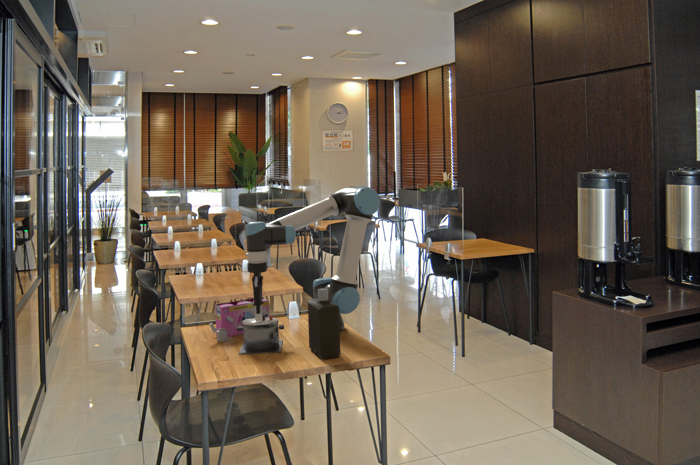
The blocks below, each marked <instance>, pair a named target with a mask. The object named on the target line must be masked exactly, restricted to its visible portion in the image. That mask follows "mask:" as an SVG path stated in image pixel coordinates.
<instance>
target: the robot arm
mask: <svg viewBox="0 0 700 465" xmlns="http://www.w3.org/2000/svg"><path fill="white" fill-rule="evenodd" d="M380 204H381V199H380V196H379V194H378V192H377V191H376V190H375V189H374V188H372V187H371V186H370V187H369V186H364V185H363V186H360V185H359V186H353V185H351V186H350V185H349V186H347V187H343V188H341V189H339V190H337V191H335V192H333V193H331V194H328V195H327V196H326V197H325V199H323V200H319V201H318V202H315V203H312V204H310V205H308V206H306V207H303V208H302V209H299V210H296V211H294V212H291V213H289V214H287V215H285V216H282V217H279V218H277V219H275V220H273V221H270V222H264V221H250V222H248V223H247V224H246V227H245V228H246V229H245V230H246V231H245V236H246V253H245V256H246V259H247V264H246V266H247V271H246V272H248V273H250V274H253V275H252V277H251V281H252V291H253V298H254V304H253V306H255V322H262V321H263V318H262V304H264V302H262V300H263V299H262V297H263V285H264V284H263V282H264V281H263V280H264V276H263V275H262V273H266V272H267V271H268V262H267V259H268V255H267V254H268V253H267V251H268V250H267V246H268V247H270V246H280V245H281V246H282V245H283V246H284V245H286V246H287V245H291V244H295V241H296V238H297V232H296V231H298V230H301V229H303V228H305V227H308V226H309V225H313V224H315V223H317V222H320V221H321V220H324V219H326V218H329V217H330V216H335V217H336V216H339V215H342V214H344V217H345V218H346V224H345V225H346V226H345V230H344V234H343V238H342V239H343V240H342V243H341V248H340V252H339V258H338V261H337V262H338V264H337V266H336V273H335V275H334V276H332V277H321V278H317V279H314V280H313V285H312V290H313V291H312V294H313V299H318V289H322V288H324V289H328V300H329V301H331V302H332V303H334V304H336V305H337V306H338V307H339V315H340V332H342V331H344V329H345V322H344V321H345V320H344V319H343V317H342V315H348V314H351V313H353V312H354V311H356V309H357V308H358V306H359V304H360V300H361V296H360V293H359V290H358V287H359V283H358V281H357V279H356V278H357V273H358V269H359V265H360V259H361V254H362V249H363V245H364V239H365V236H366V231H367V228H368V227H367V226H368V224H369V223H371V222H372V219H373V216H374V214H375V213H377V212H378V210H379V209H380V206H381V205H380Z"/></svg>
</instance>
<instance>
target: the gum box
mask: <svg viewBox="0 0 700 465" xmlns="http://www.w3.org/2000/svg"><path fill="white" fill-rule="evenodd" d="M262 299H263V300H262V302H264V304H262V315H265V318H269V316H270V304H269V303H270V302H269V299H265V297H263V296H262ZM253 304H254V297H253V298H248V299H247V298H246V299H240V300H235V301H228V302H226V301H225V302H221V303H215V304H214V309H215V310H214V311H215V312H214V314H215V328H216V330H217V331H218V330H220V329H219V328H225V330H227V338H229V337H230V338H231V337H235V336H240V335H243V330H242V331H237V327H238V326H243V324H242V321H243V320H246V319H252V318H255V306H253ZM215 333H216V335H217V332H215Z"/></svg>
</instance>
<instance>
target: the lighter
mask: <svg viewBox="0 0 700 465" xmlns="http://www.w3.org/2000/svg"><path fill="white" fill-rule="evenodd" d="M208 325H209V327H210V330H212V333H213V334H215V333H216V332H217V334H216V339H217V340H216V341H217V342H228V337H227V330H225V328H219V329H220V330H218V331H217V330H216V325H214V323H213V322H210V323H208Z"/></svg>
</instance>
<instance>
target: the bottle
mask: <svg viewBox="0 0 700 465" xmlns="http://www.w3.org/2000/svg"><path fill="white" fill-rule="evenodd" d="M307 319H308V325H307V326H308V348H309V349H310V350H312V352H314V353H315V354H316V355H317V356H319V357H320V358H321V359H322V360H323V361H324V360H331V359H332V360H333V359H339V358H340V356H341V331H340V315H339V307H338V306H337V305H336V304H334V303H332V302H331V301H329V300H328V289H324V288H322V289H318V299H314V298H311V299H309V300H308V302H307Z"/></svg>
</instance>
